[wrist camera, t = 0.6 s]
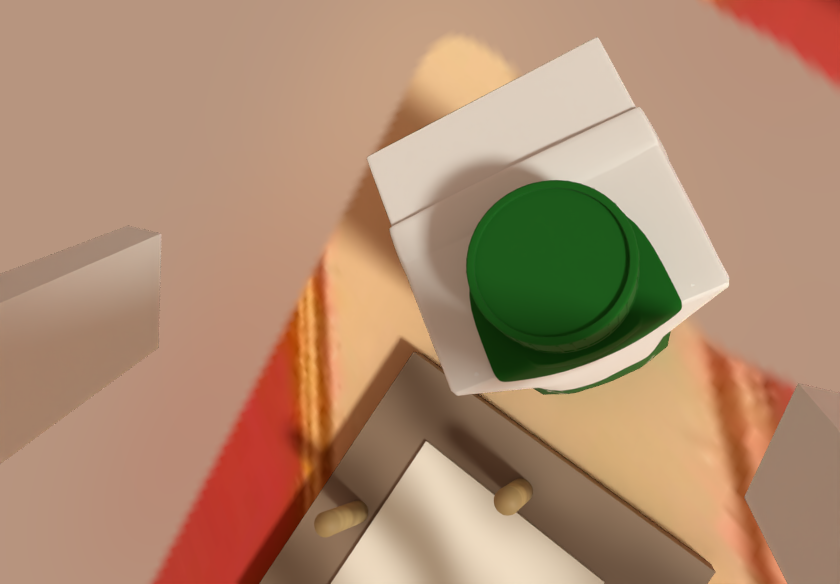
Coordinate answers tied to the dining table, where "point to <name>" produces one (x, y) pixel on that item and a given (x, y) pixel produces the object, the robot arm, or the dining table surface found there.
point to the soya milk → (546, 232)
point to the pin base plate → (469, 506)
